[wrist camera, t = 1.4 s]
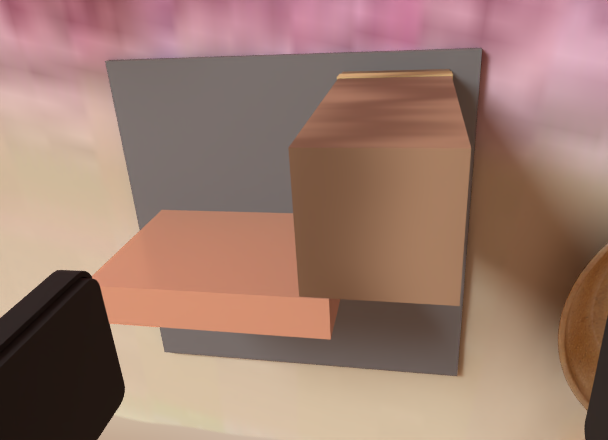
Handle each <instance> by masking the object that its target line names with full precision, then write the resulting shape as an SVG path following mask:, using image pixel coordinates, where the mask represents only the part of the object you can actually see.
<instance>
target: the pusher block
mask: <svg viewBox="0 0 608 440" xmlns="http://www.w3.org/2000/svg"><path fill="white" fill-rule="evenodd" d="M288 150H289V163H290V177H291V191H292V205H293V219H294V232H295V246H296V260H297V274H298V288H299V297H312V298H330V299H347V300H364V301H382V302H399V303H417V304H434V305H451V306H460V294H461V280H462V267H463V253H464V240H465V226H466V213H467V199H468V185H469V172H470V158H471V145H470V142H469V138H468V134H467V131H466V127H465V123H464V120H463V116H462V113H461V109H460V105H459V102H458V98H457V94H456V91H455V87H454V83H453V73H452V71H450V69H426V70H387V71H348V72H342V74H339V75H338V76H337V81H336V82H335V83H334V85H333V86H332V88H331V89H330V90H329V92H328V93H327V95H326V96H325V97H324V99H323V100H322V102H321V103H320V104H319V106H318V107H317V109H316V110H315V111H314V113H313V114H312V116H311V117H310V118H309V120H308V121H307V122H306V124H305V125H304V127H303V128H302V129H301V131H300V132H299V134H298V135H297V136H296V138H295V139H294V141H293V142H292V143H291V145H290V146H289V148H288Z"/></svg>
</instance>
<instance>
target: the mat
mask: <svg viewBox="0 0 608 440" xmlns="http://www.w3.org/2000/svg"><path fill="white" fill-rule="evenodd" d="M481 57H482V49H481V48H465V49H435V50H404V51H374V52H343V53H313V54H282V55H252V56H221V57H191V58H160V59H130V60H109V61H105V63H106V67H107V72H108V77H109V82H110V87H111V92H112V97H113V102H114V107H115V111H116V116H117V121H118V126H119V131H120V136H121V141H122V146H123V151H124V155H125V160H126V165H127V170H128V175H129V180H130V185H131V190H132V194H133V199H134V204H135V209H136V214H137V219H138V224H139V229H140V230H141V229H142V228H143V227H144V226H145V225H146V224H147V223H148V222H149V221H151V220H152V219H153V218H154V217H155V216H156V215H157V214H158V213H159V212H160V211H161V210H187V211H225V212H263V213H293V205H292V191H291V177H290V163H289V150H288V148H289V146H290V145H291V143H292V142H293V141H294V139H295V138H296V136H297V135H298V134H299V132H300V131H301V129H302V128H303V127H304V125H305V124H306V122H307V121H308V120H309V118H310V117H311V116H312V114H313V113H314V111H315V110H316V109H317V107H318V106H319V104H320V103H321V102H322V100H323V99H324V97H325V96H326V95H327V93H328V92H329V90H330V89H331V88H332V86H333V85H334V83H335V82H336V81H337V76H338V75H339V74H342V72H348V71H387V70H426V69H450V71H452V73H453V83H454V87H455V91H456V94H457V98H458V102H459V105H460V109H461V113H462V116H463V120H464V123H465V127H466V131H467V134H468V138H469V142H470V145H471V158H470V172H469V185H468V199H467V213H466V226H465V240H464V253H463V267H462V280H461V294H460V306H451V305H434V304H417V303H399V302H382V301H364V300H347V299H340V303H339V307H338V311H337V315H336V320H335V324H334V328H333V332H332V336H331V340H330V339H316V338H302V337H288V336H275V335H261V334H247V333H233V332H220V331H206V330H192V329H178V328H165V327H160V331H161V336H162V341H163V346H164V351H165V352H170V353H183V354H195V355H207V356H219V357H231V358H243V359H255V360H268V361H280V362H292V363H304V364H316V365H328V366H340V367H353V368H365V369H377V370H389V371H401V372H413V373H425V374H438V375H450V376H457V371H458V358H459V345H460V332H461V319H462V306H463V293H464V280H465V267H466V254H467V240H468V227H469V214H470V201H471V188H472V175H473V162H474V149H475V136H476V123H477V109H478V96H479V83H480V70H481Z"/></svg>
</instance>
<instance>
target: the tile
mask: <svg viewBox="0 0 608 440" xmlns="http://www.w3.org/2000/svg"><path fill="white" fill-rule="evenodd" d="M92 279H95V280H97V281H98V283H99V285H100V288H101V292H102V296H103V300H104V304H105V308H106V312H107V316H108V320H109V324H123V325H137V326H151V327H165V328H178V329H192V330H206V331H220V332H233V333H247V334H261V335H275V336H288V337H302V338H316V339H330V340H331V336H332V332H333V328H334V324H335V320H336V315H337V311H338V307H339V303H340V299H330V298H312V297H299V288H298V274H297V260H296V246H295V232H294V219H293V213H263V212H225V211H187V210H161V211H160V212H159V213H158V214H157V215H156V216H155V217H154V218H153V219H152V220H151V221H149V222H148V223H147V224H146V225H145V226H144V227H143V228H142V229H141V230H140V231H139V232H138V233H137V234H136V235H135V236H134V237H133V238H132V239H131V240H130V241H128V242H127V243H126V244H125V245H124V246H123V247H122V248H121V249H120V250H119V251H118V252H117V253H116V254H115V255H114V256H113V257H112V258H111V259H110V260H109V261H107V262H106V263H105V264H104V265H103V266H102V267H101V268H100V269H99V270H98V271H97V272H96V273H95V274H94V275H93V276H92Z"/></svg>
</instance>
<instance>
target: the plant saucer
mask: <svg viewBox="0 0 608 440" xmlns="http://www.w3.org/2000/svg"><path fill="white" fill-rule="evenodd" d="M607 315H608V243H607V244H606V245H605V246H604V247H603V248H602V249H601V250H600V251H599V252H598V253H597V254H596V255H595V256H594V257H593V258H592V260H591V261H590V262H589V263H588V264H587V266H586V267H585V268H584V270H583V271H582V272H581V274H580V275H579V277H578V278H577V280H576V281H575V283H574V285H573V287H572V289H571V291H570V293H569V295H568V297H567V300H566V302H565V305H564V308H563V311H562V315H561V318H560V323H559V332H558V347H559V357H560V363H561V366H562V369H563V373H564V376H565V378H566V381H567V383H568V385H569V386H570V388H571V390H572V392H573V393H574V395H575V396H576V398H577V399H578V400H579V402H580V403H581V404H582V405H583V406H584V407H585V408H586V410H588V406H589V401H590V397H591V392H592V387H593V382H594V377H595V373H596V368H597V363H598V358H599V354H600V349H601V344H602V339H603V335H604V330H605V325H606V320H607Z"/></svg>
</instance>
